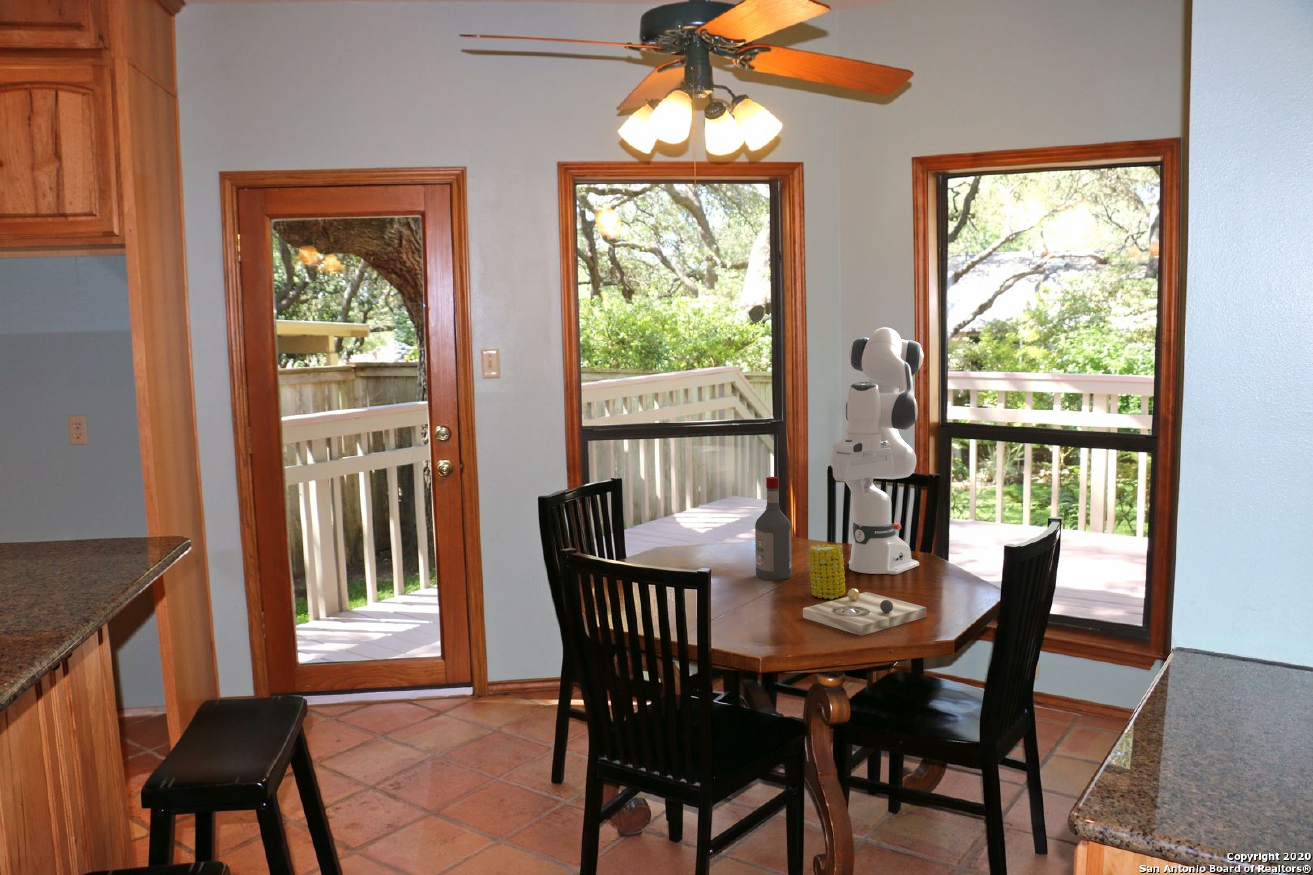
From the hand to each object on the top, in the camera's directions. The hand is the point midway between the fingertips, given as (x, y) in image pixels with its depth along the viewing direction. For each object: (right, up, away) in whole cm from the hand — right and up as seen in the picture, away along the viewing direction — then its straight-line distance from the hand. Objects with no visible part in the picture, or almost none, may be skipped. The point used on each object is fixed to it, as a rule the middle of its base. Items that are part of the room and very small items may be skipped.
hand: (863, 494), depth 272 cm
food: (-8, -29, +9) cm, 31 cm away
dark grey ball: (+2, -27, -18) cm, 32 cm away
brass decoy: (-4, -26, -6) cm, 27 cm away
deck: (-2, -31, -13) cm, 33 cm away
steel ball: (-7, -30, -16) cm, 34 cm away
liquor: (-21, -27, +31) cm, 46 cm away
